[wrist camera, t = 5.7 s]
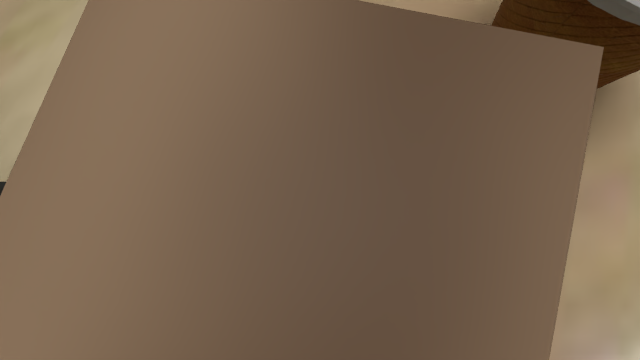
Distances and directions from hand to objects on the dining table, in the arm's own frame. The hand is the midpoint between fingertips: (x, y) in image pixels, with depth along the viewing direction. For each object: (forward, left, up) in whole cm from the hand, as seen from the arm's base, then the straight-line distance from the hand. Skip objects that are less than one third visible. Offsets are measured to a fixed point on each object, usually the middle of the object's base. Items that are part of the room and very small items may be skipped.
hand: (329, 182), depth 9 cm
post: (0, -2, -6) cm, 6 cm away
